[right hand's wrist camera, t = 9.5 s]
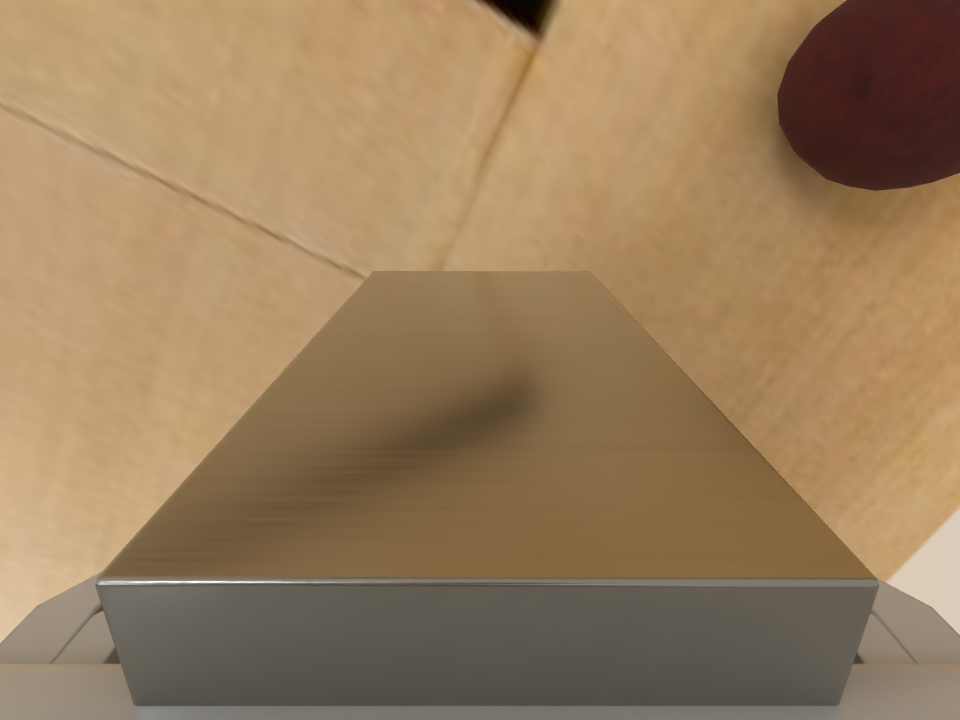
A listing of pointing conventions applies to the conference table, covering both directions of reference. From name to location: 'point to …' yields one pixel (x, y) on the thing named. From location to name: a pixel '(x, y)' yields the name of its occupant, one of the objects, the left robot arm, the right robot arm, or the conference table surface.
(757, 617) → the box
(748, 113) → the conference table surface
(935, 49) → the potato
